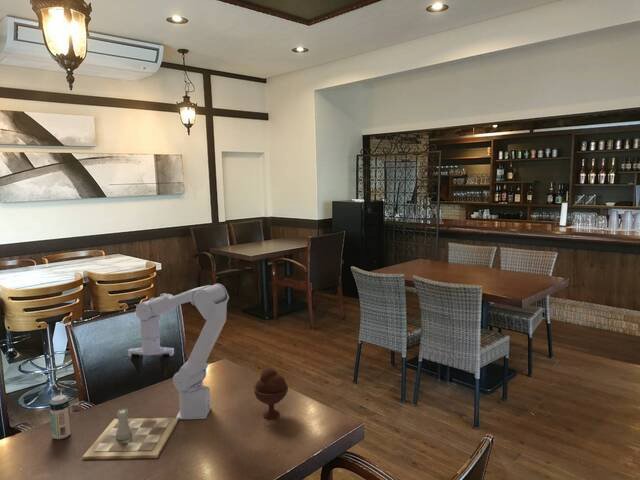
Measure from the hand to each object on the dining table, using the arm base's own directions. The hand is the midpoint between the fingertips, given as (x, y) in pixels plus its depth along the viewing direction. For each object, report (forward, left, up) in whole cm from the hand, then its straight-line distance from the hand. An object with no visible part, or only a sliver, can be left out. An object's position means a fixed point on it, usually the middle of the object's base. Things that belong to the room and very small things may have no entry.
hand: (152, 375), depth 151 cm
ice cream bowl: (-40, +8, -11) cm, 42 cm away
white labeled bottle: (+21, +18, -11) cm, 30 cm away
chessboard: (-1, +20, -10) cm, 23 cm away
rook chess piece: (+1, +21, -10) cm, 23 cm away
